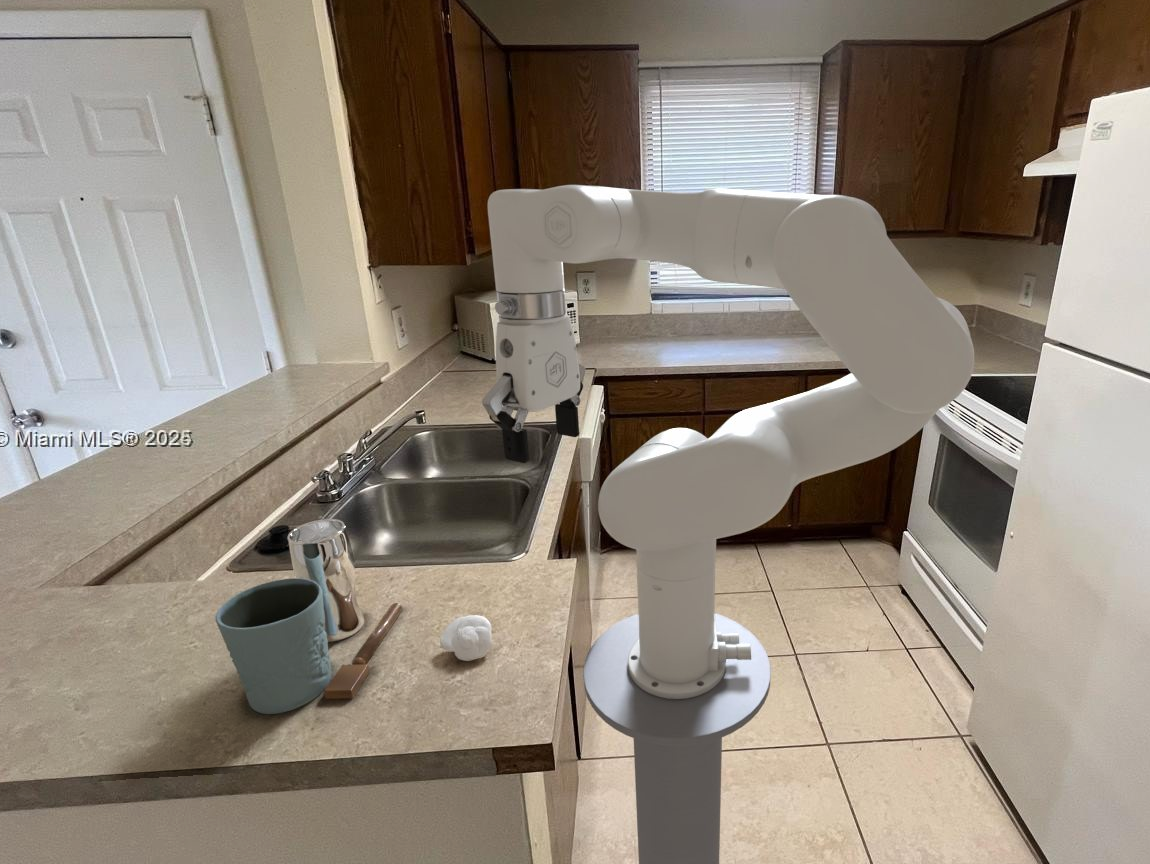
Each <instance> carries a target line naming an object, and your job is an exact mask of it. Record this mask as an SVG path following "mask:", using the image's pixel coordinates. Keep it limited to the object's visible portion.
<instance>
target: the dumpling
mask: <svg viewBox="0 0 1150 864" xmlns="http://www.w3.org/2000/svg"><path fill="white" fill-rule="evenodd" d="M490 622H491V621H489V620H488V619H487V617H485V616H482V615H476V614H474V615H473V614H472V615H467V616H459V617H456V618H455V619H454V620H452V621H451V622H450V623H449V624H448V625H447V626H446V627H445V629H442V630H441V633H442V634H441V637H440V639H439V642H440V647H441V648H442V649H443V650H444V651H446V652H453V653H454V656H455V657H456V658H457V659H458V660H460V661H465V662H470V661H473V660H477V659H482V658H483V657H485V656H486V655H487V654H488V653H489V651H490V649H491V647H492V644H493V636H492V624H491V623H490Z"/></svg>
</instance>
